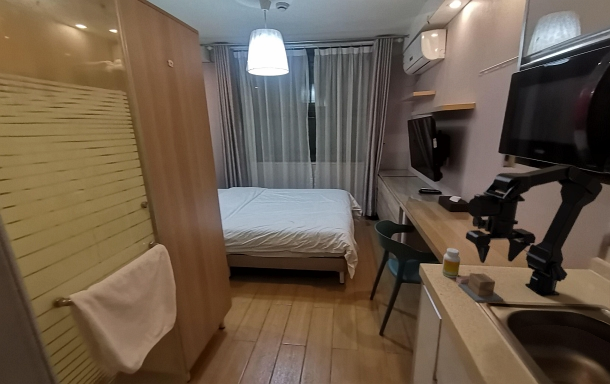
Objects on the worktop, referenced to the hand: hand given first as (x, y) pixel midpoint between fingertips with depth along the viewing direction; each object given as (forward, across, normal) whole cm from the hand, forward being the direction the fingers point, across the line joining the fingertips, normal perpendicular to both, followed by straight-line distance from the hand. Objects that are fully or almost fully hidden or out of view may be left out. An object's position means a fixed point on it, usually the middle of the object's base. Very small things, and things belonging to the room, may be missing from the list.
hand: (495, 261), depth 88 cm
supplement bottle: (+12, +6, -13) cm, 18 cm away
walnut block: (+11, +3, -1) cm, 11 cm away
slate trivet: (+12, +3, -1) cm, 12 cm away
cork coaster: (+12, -2, -10) cm, 16 cm away
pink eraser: (+12, +4, -7) cm, 15 cm away
